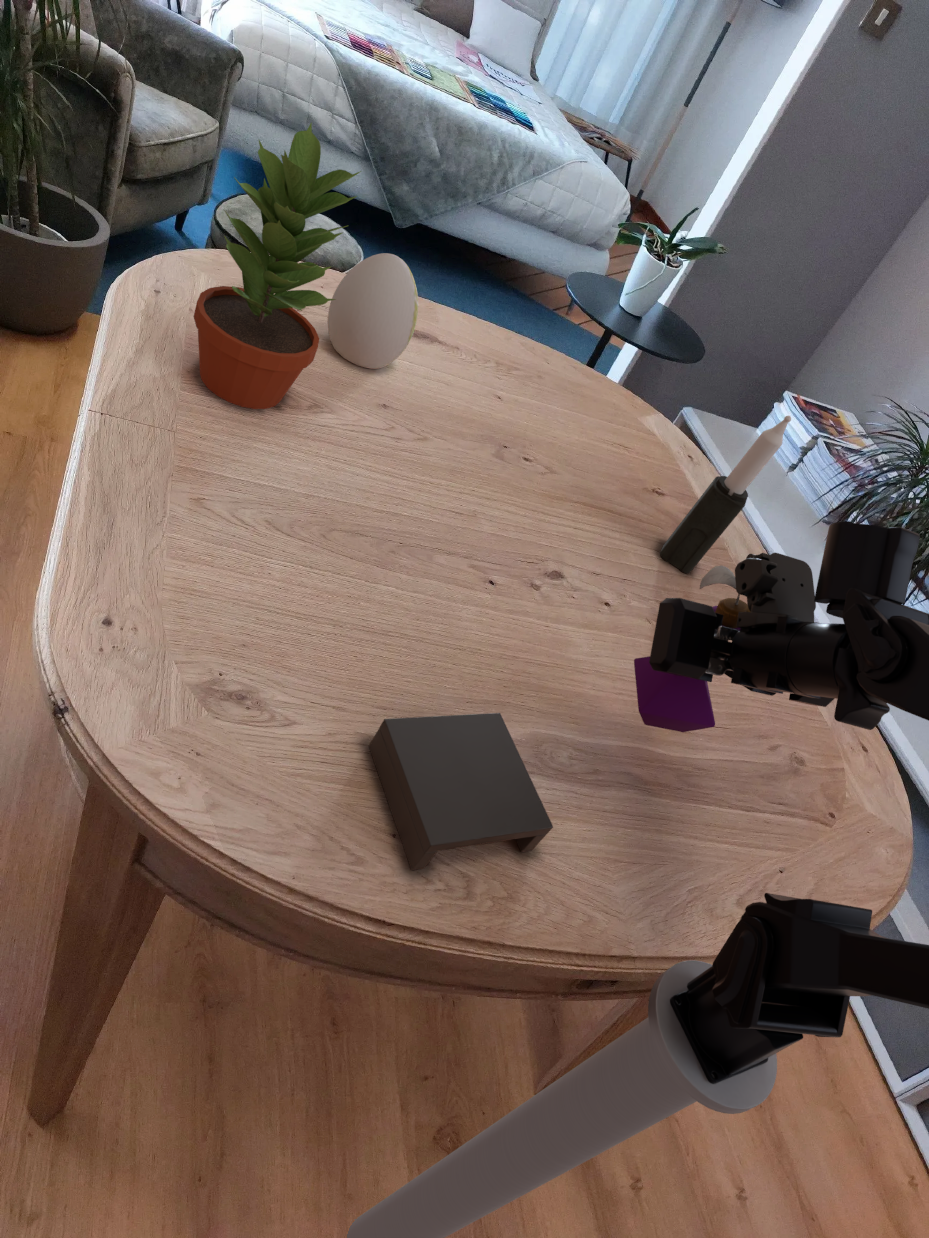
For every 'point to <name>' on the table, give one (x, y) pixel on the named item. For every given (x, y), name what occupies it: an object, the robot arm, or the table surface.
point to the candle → (720, 504)
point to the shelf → (456, 784)
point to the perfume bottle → (678, 696)
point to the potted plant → (270, 283)
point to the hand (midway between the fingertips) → (688, 649)
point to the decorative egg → (374, 311)
